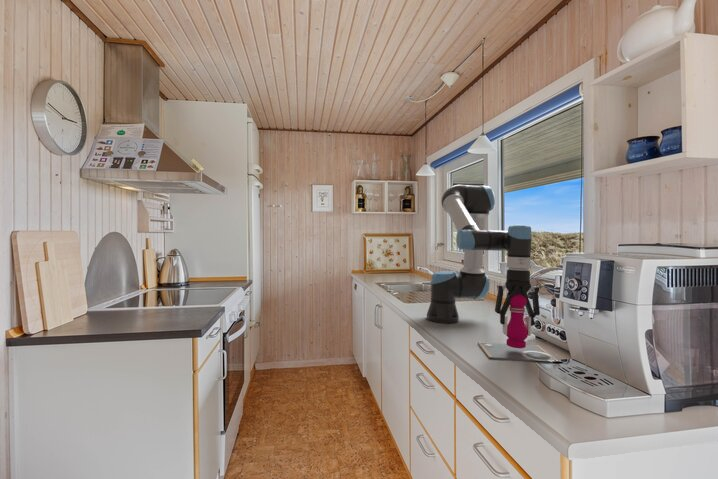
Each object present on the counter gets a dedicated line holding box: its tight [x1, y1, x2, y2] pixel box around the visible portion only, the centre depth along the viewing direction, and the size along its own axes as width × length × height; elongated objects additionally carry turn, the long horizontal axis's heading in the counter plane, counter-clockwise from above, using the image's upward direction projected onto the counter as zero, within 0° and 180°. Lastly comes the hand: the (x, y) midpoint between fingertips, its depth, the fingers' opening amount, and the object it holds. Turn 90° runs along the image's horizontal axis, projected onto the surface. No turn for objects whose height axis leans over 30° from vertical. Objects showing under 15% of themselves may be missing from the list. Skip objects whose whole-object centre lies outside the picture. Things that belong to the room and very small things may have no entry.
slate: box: [477, 342, 558, 362], centre depth 126 cm, size 17×22×1 cm
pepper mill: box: [505, 294, 529, 348], centre depth 126 cm, size 7×7×20 cm
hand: (516, 334), depth 126 cm, fingers closed on pepper mill, 7 cm apart
